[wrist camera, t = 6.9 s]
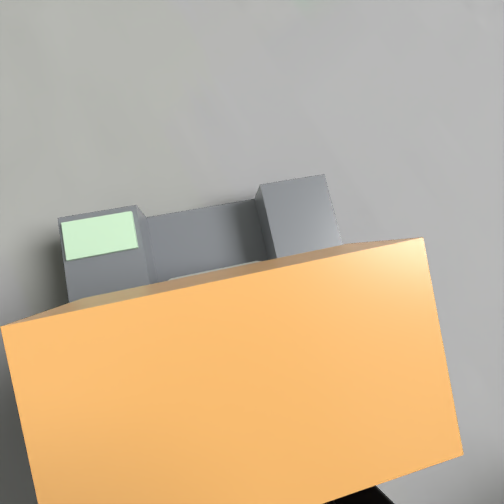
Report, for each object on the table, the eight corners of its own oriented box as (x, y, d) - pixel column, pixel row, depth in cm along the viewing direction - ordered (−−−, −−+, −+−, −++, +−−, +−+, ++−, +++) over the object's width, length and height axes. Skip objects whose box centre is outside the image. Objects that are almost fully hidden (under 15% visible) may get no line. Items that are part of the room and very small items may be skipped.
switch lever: (274, 308, 14) (463, 455, 4) (172, 331, 13) (58, 594, 3) (263, 250, 14) (423, 237, 4) (160, 271, 13) (0, 325, 3)
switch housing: (344, 352, 16) (376, 365, 13) (114, 413, 14) (85, 446, 11) (305, 195, 17) (325, 172, 14) (87, 233, 15) (54, 216, 12)
